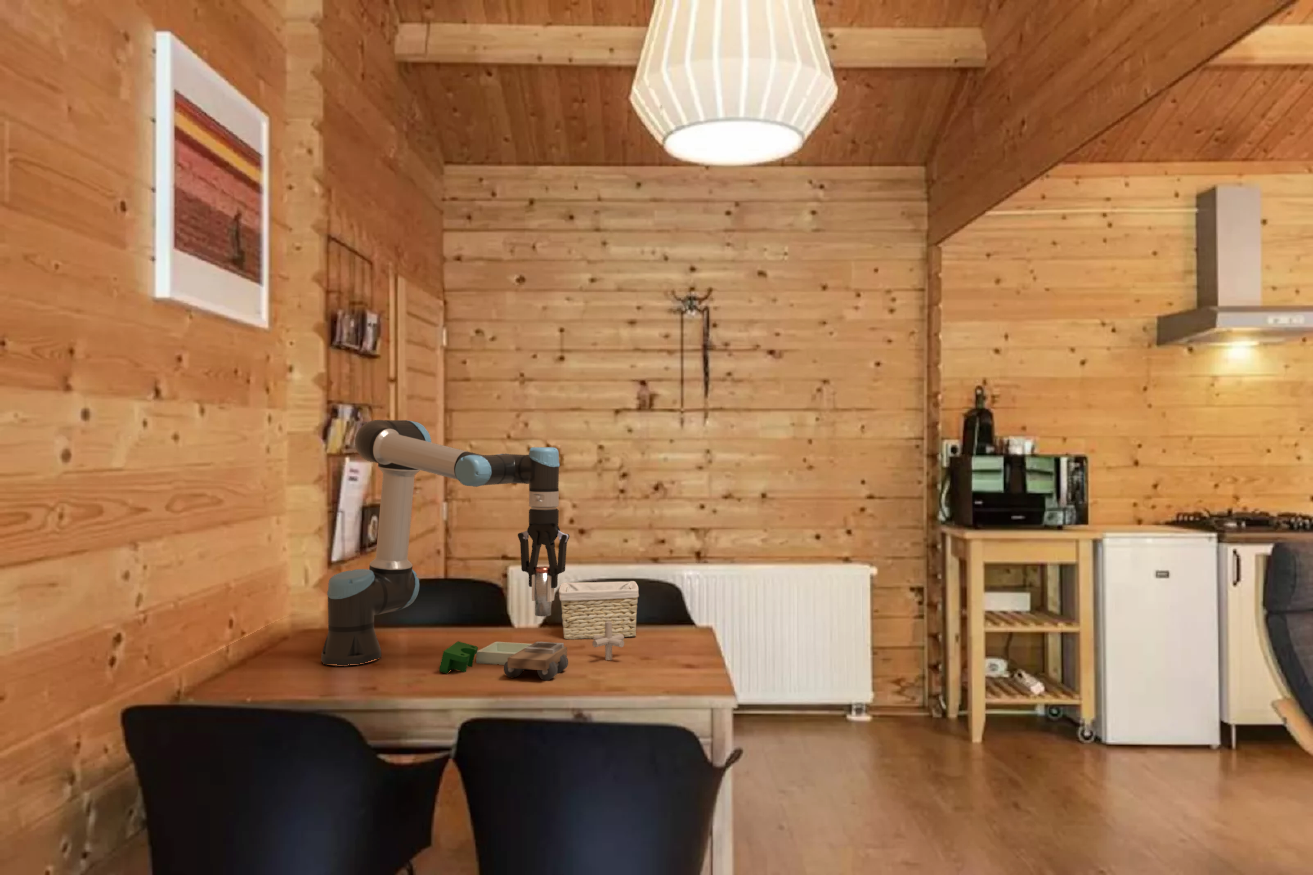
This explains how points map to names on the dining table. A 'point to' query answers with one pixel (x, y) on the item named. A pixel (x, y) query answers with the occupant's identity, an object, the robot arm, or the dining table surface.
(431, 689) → the dining table surface
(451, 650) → the clamp
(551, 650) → the trolley
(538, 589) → the pin
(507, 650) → the tray
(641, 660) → the dining table surface
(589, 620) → the storage basket
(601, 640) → the pipe connector
